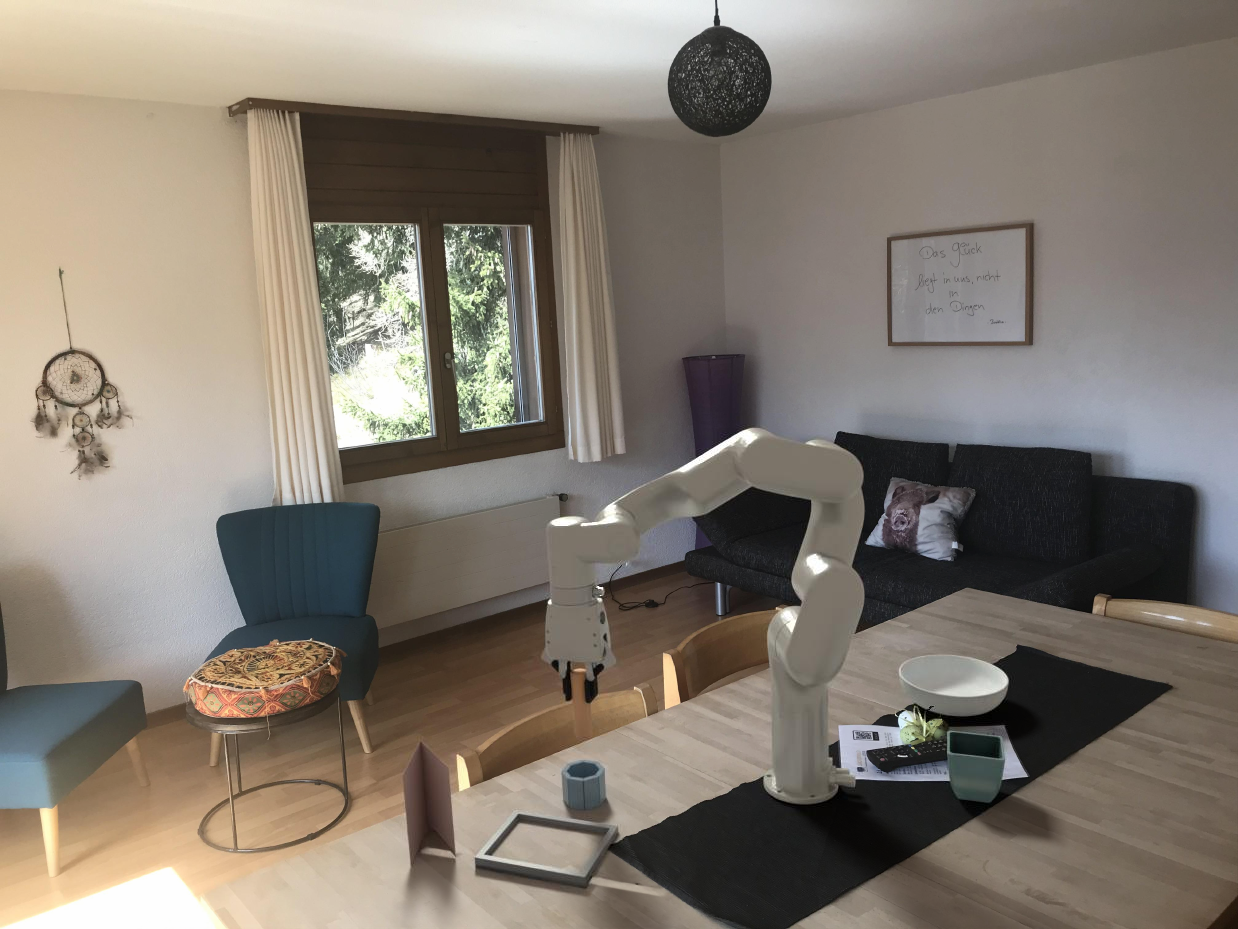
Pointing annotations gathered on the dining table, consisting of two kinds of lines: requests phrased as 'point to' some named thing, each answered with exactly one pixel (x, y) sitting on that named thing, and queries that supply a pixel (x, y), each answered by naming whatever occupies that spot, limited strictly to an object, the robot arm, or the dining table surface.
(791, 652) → the robot arm
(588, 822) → the grey rectangular frame
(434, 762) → the greeting card
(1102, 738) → the dining table surface
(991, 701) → the serving bowl
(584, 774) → the cup
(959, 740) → the flower pot
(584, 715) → the dowel
